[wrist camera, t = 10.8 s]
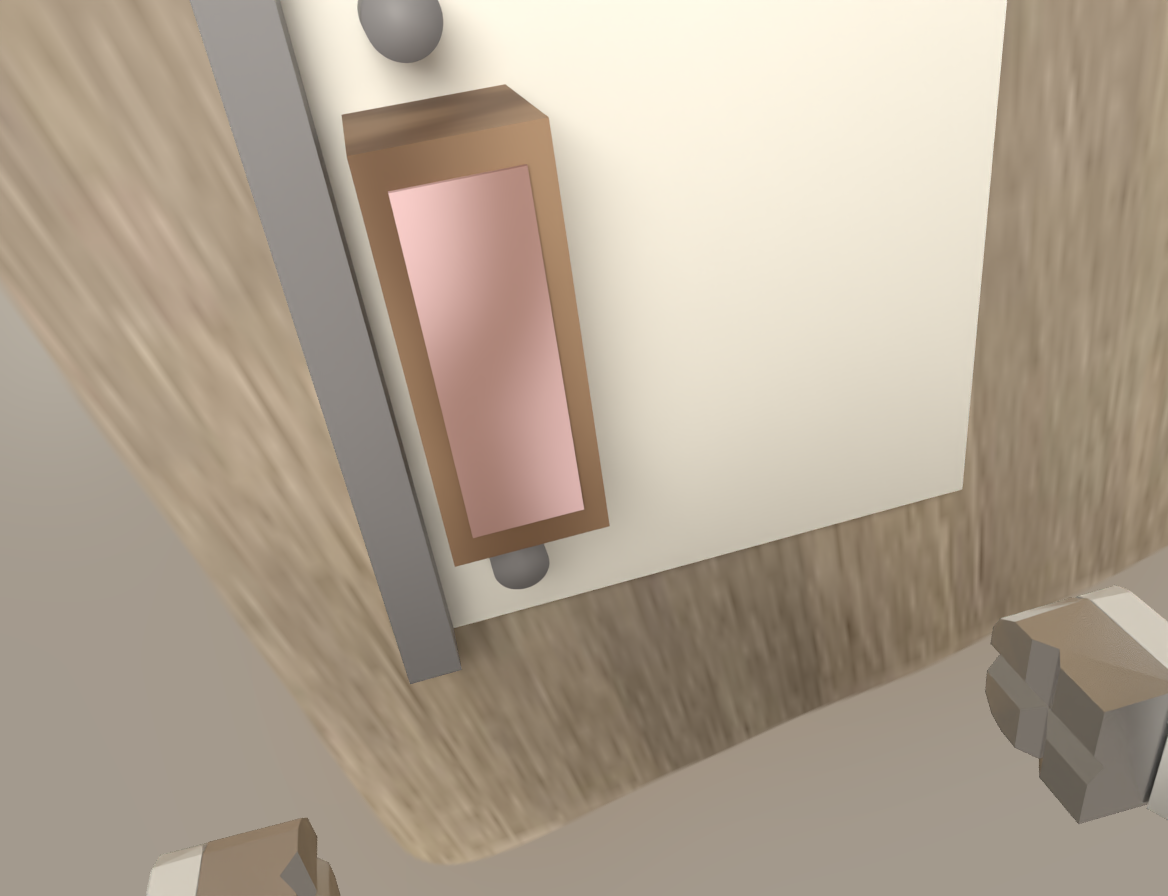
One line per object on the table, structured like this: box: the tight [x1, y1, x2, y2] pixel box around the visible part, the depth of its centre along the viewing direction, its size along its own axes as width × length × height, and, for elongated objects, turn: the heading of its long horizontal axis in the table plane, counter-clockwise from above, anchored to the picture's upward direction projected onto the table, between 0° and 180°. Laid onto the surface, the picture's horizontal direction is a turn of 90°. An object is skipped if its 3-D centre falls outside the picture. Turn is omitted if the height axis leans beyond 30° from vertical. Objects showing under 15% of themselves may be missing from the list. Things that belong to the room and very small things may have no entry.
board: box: [190, 0, 1007, 684], centre depth 24 cm, size 20×26×4 cm
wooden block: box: [341, 84, 610, 567], centre depth 22 cm, size 4×10×5 cm, turn 8°
